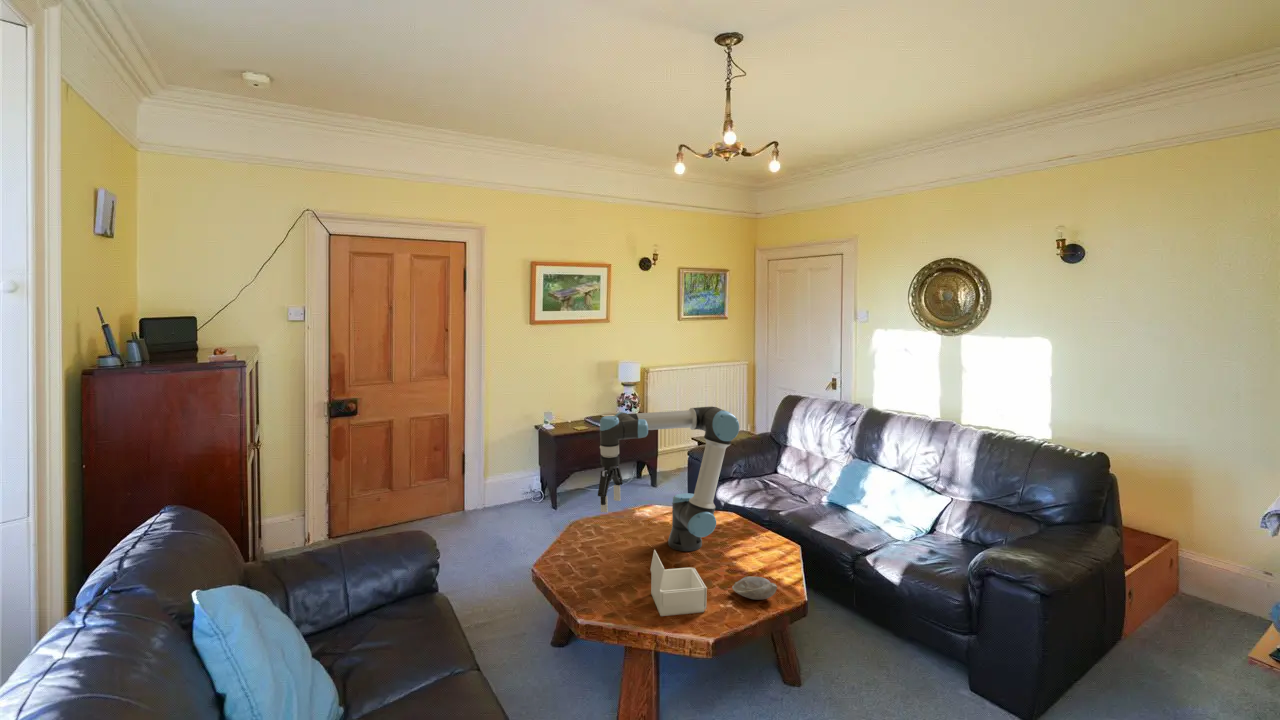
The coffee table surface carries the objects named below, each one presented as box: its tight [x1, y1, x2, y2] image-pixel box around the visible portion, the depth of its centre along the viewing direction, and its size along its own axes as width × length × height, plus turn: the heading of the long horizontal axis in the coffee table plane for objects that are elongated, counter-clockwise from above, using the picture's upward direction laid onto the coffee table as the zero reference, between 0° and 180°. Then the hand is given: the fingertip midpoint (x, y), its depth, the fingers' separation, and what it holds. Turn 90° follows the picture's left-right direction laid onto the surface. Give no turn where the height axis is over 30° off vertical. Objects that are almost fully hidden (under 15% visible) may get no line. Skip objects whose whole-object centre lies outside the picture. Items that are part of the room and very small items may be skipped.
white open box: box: [650, 567, 708, 617], centre depth 218 cm, size 17×18×9 cm
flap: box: [650, 549, 665, 590], centre depth 216 cm, size 8×16×1 cm
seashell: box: [731, 575, 778, 601], centre depth 222 cm, size 9×12×15 cm
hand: (610, 506), depth 242 cm, fingers open, 13 cm apart
